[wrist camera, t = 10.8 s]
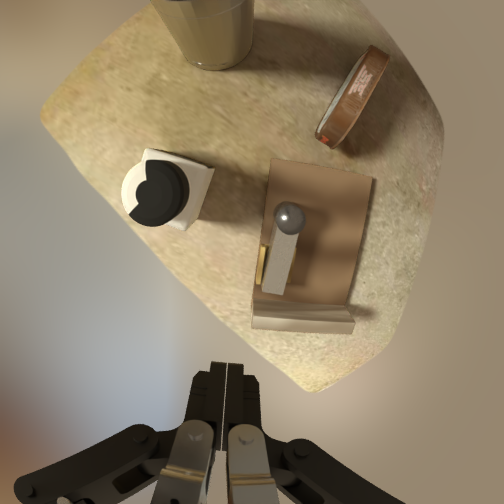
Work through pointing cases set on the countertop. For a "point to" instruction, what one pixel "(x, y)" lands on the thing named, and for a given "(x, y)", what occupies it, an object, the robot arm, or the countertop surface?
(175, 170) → the medicine bottle
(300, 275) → the board
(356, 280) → the countertop surface
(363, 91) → the tin
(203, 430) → the robot arm
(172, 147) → the countertop surface
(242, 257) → the countertop surface
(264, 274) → the swing bar
